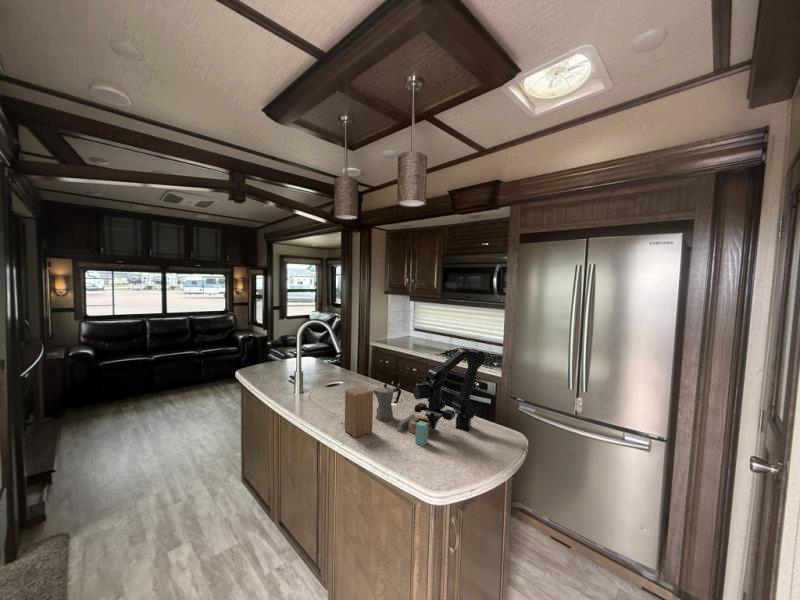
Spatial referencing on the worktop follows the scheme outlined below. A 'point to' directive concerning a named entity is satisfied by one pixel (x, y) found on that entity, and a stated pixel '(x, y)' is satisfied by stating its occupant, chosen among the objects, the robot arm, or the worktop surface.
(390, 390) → the coffeepot
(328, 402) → the worktop surface
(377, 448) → the worktop surface
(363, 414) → the block
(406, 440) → the worktop surface
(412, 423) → the socket block
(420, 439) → the turquoise rectangular prism
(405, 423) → the backstop wall
